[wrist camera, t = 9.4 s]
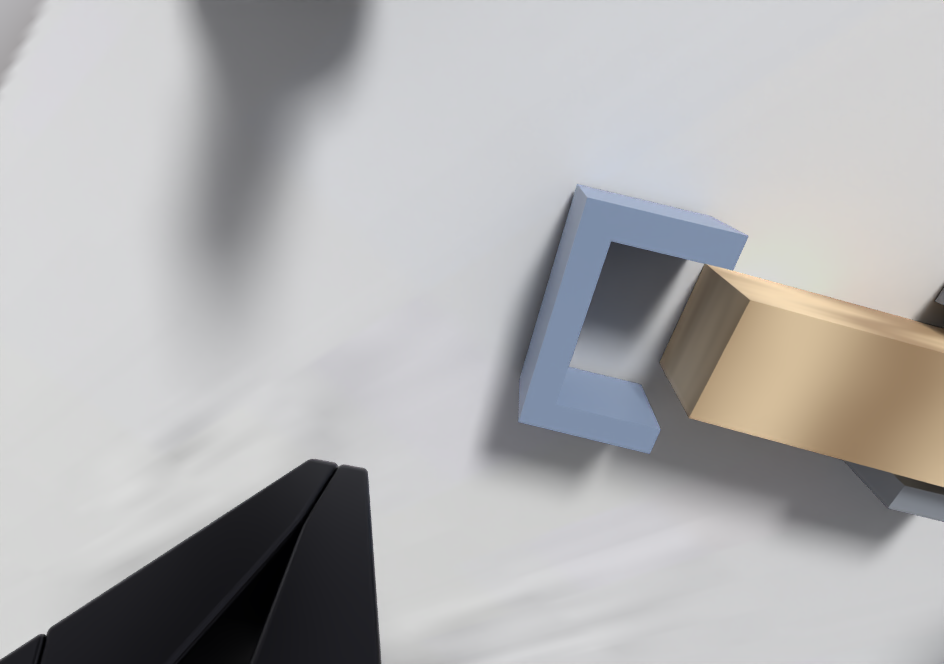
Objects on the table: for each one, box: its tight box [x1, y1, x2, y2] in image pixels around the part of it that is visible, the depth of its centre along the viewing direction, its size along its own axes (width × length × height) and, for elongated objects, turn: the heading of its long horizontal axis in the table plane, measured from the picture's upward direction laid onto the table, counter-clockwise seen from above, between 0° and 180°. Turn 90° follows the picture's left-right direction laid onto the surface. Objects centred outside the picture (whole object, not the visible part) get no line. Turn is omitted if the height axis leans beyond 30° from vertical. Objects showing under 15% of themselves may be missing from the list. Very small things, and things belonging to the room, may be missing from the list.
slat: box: [659, 264, 944, 487], centre depth 16 cm, size 10×4×4 cm, turn 75°
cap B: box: [518, 184, 748, 454], centre depth 16 cm, size 4×8×3 cm, turn 167°
